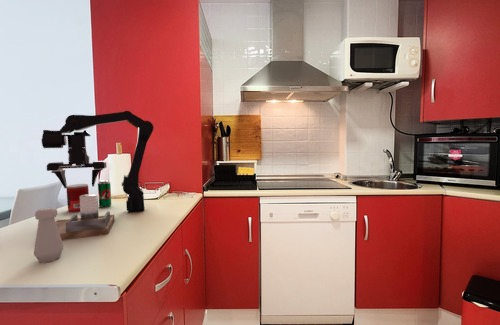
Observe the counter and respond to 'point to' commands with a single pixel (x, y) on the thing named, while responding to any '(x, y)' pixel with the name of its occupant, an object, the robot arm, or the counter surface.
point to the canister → (89, 206)
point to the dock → (84, 226)
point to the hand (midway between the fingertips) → (79, 187)
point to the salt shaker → (47, 236)
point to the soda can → (104, 193)
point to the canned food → (75, 196)
